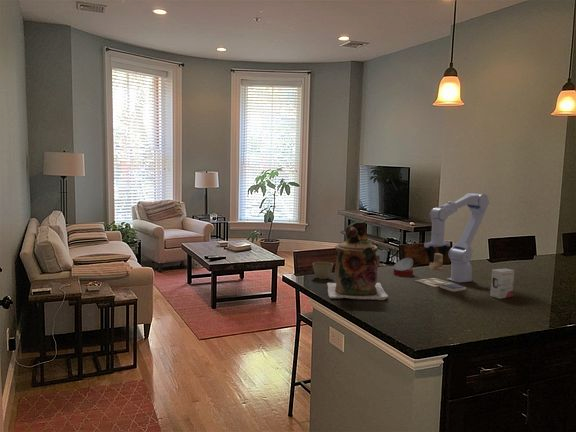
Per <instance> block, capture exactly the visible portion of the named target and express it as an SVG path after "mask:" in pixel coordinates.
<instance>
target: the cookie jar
mask: <svg viewBox="0 0 576 432" xmlns="http://www.w3.org/2000/svg"><path fill="white" fill-rule="evenodd" d="M366 222H367V220H366V219H364V220H363V221H357V222H353V223H351V224H349V225H347V227H345V228H346V229H345V235H346V238H347V239H345V240H344V241H343V242H340V243H338V244H336V245H335V247H334V248H335V250H336V260H335V267H334V280H335V282H327V283H326V285H327V295H328V297H329V299H345V298H346V299H351V300H368V301H369V300H370V301H371V300H373V301H376V300H377V301H384V300H386V299H387V298H388V297H389V295H388V294H387V293H386V291H385V290H384V288H383V287H382V284H381V282H378V268H379V266H380V261H381V259H380V258H381V257H380V255H378V254H377V252H378V246H377V245H375V244H373V243H372V242H371V241H369V240H368V236H367V235H368V229H367V225H366Z"/></svg>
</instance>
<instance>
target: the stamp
mask: <svg viewBox="0 0 576 432" xmlns="http://www.w3.org/2000/svg"><path fill="white" fill-rule="evenodd" d="M443 264H444V261H443V255H442V254H440V253H439V252H437V253H436V252H435V255H434V262H433V263H431V262H429V265H428V268H429V269H430V270H432V271H444V267H443Z"/></svg>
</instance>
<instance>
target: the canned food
mask: <svg viewBox="0 0 576 432" xmlns="http://www.w3.org/2000/svg"><path fill="white" fill-rule="evenodd" d="M413 265H414V260H413V259H412V258H411V257H405V258H402V259H400V260H399V261H397V262H395V264H394V265H393V268H392V269H393V275H395V276H398V277H412V276H413V274H414V268H412V267H413Z"/></svg>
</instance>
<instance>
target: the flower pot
mask: <svg viewBox="0 0 576 432" xmlns="http://www.w3.org/2000/svg"><path fill="white" fill-rule="evenodd" d="M333 267H334V263H333V262H328V261H326V262H325V261H316V262H312V269H313V272H314V274H315V276H316V278H317V279H318V278H319V279H318V280H326V279H328V278H329V277H330V275H331V273H332V271H333Z"/></svg>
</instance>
